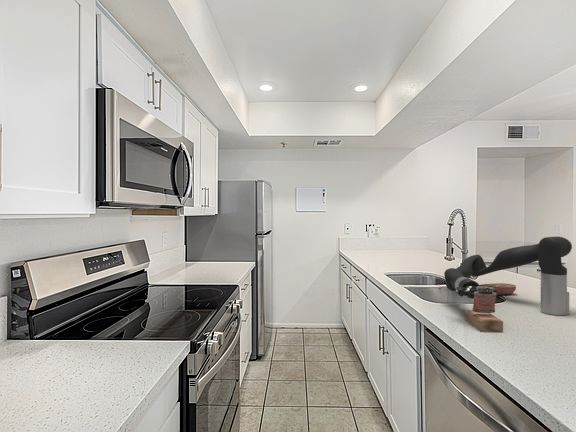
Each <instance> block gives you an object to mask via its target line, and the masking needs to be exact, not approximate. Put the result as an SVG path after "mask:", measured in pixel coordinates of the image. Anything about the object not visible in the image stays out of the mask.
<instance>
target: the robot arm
mask: <svg viewBox="0 0 576 432" xmlns="http://www.w3.org/2000/svg"><path fill="white" fill-rule="evenodd" d="M572 245H573V244H572V243H571V241H570V240H569V239H567V238H566V237H563V236H546V237H543V238H541V239H540V241H539V243H535V244H531V245H529V244H528V245H521V246H515V247H510V248H506V249H504V250H501V251H500V252H498V254H497V255H496V256H495V258H494V260H493V261H492V263H490V264H489V265H488V266H487V264H486V262H485V261H484V258H483V257H482V255H480V254H474V255H470V256H468V257H466V258H464V260H463V261H462V262H461V264H460V265H459V266H458V267H456V268H453V267H451V268H447V269H445V271H444V273H443V276H444V281H445V285H446V288H447V290H449V291H452V292H455V294H456V295H458V296H460V297H464V296H465V297H466V298H469V299H473V300H474V292H476V291H477V290H476V287H480V286H479V285H480V284H479V283H478V282H477V281H475V280H473V279H471V277H473V278H476V277H480V276H484V275H487V274H491V273H494V272H499V271H503V270H508V269H509V270H510V269H513V268H514V269H515V268H517V267H522V266H526V265H529V264H532V263H536V262H538V267H539V268H540V312H541V313H544V314H545V315H546V314H547V315H552V316H567V315H570V292H569V291H568V269H567V267H566V266H564V265H563V264H562V258H563V257H566V256H568V255H569V254H570V253H571V251H572V249H573V246H572ZM493 292H495V293H496V299H498V295H497V290H494V289H493Z"/></svg>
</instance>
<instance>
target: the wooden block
mask: <svg viewBox="0 0 576 432" xmlns="http://www.w3.org/2000/svg"><path fill="white" fill-rule="evenodd" d="M464 317H465V318H464V320H465V321H466V322H467V323H469V324H470V326H472V327H474V328H475V329H476V330H478V331H479V332H484V333H485V332H486V333H489V332H490V333H504V320H502V319H500V318H498V316H497V317H496V316H495V315H494V314H493V313H478V312H474V311H473V309H471V310H470V309H467V310H464Z"/></svg>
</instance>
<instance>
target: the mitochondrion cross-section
mask: <svg viewBox="0 0 576 432" xmlns="http://www.w3.org/2000/svg"><path fill="white" fill-rule="evenodd" d="M479 286H480V287H484V286H487V287H492V288H494V290H497V296H504V295H506V294H508V295H511V294H513V293H515V292H516V290H517V285H515V284H512V283H504V282H502V283H501V282H500V283H484V284H479Z"/></svg>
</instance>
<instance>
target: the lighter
mask: <svg viewBox="0 0 576 432" xmlns="http://www.w3.org/2000/svg"><path fill="white" fill-rule="evenodd" d="M493 289H494V288H492V287H487V286H484V287H476V290H477V291H476V292H474V299H473V305H472V306H473V307H472V310H473V311H474V312H478V313H490V314H495V313H496V300H497V298H496V293H495V292H493Z"/></svg>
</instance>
